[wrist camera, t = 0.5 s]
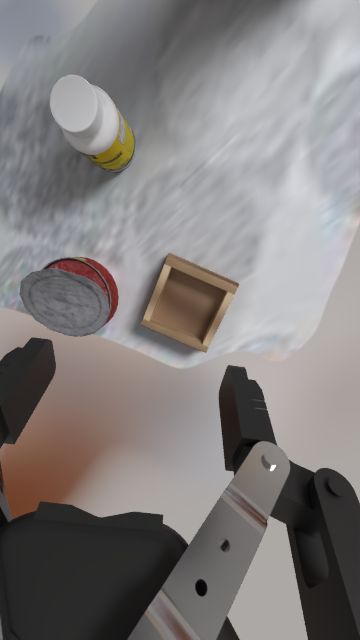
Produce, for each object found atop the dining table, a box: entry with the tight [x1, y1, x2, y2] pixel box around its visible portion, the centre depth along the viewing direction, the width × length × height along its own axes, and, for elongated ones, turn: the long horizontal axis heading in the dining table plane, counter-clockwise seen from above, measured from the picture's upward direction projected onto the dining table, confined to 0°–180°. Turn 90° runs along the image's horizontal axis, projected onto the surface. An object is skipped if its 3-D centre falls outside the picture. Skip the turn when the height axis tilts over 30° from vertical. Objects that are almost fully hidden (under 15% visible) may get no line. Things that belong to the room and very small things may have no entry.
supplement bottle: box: [50, 75, 136, 172], centre depth 26 cm, size 5×5×10 cm
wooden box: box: [141, 253, 239, 353], centre depth 33 cm, size 9×9×3 cm
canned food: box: [20, 257, 118, 336], centre depth 33 cm, size 11×10×10 cm
